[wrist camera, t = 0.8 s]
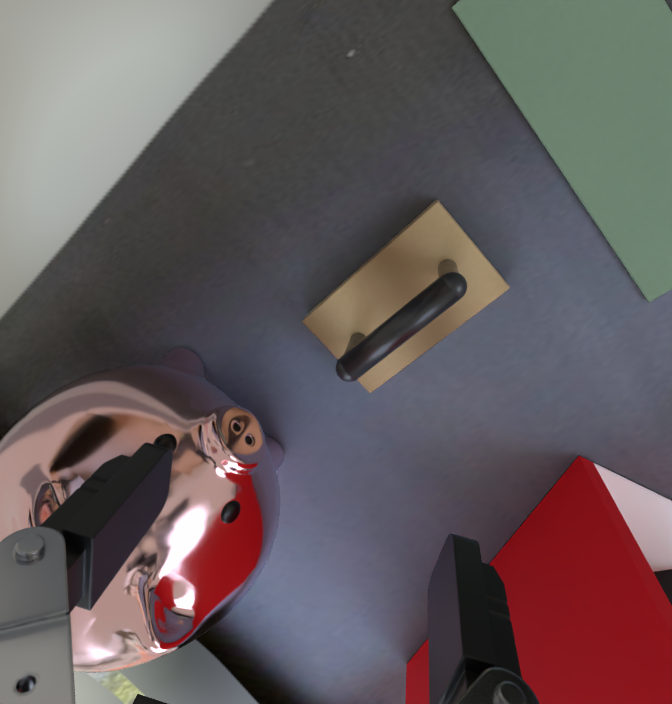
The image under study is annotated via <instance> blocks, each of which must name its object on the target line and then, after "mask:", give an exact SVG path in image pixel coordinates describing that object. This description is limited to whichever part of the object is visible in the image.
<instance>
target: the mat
mask: <svg viewBox="0 0 672 704" xmlns="http://www.w3.org/2000/svg"><path fill="white" fill-rule="evenodd" d="M452 9H453V11H454V12H455V14H456V15H457V17H458V18H459V20H460V21H461V23H462V24H463V26H464V27H465V29H466V30H467V32H468V33H469V35H470V36H471V38H472V39H473V41H474V42H475V44H476V45H477V47H478V48H479V50H480V51H481V52H482V54H483V55H484V57H485V58H486V60H487V61H488V63H489V64H490V66H491V67H492V69H493V70H494V72H495V73H496V75H497V76H498V78H499V79H500V81H501V82H502V84H503V85H504V87H505V88H506V90H507V91H508V93H509V94H510V96H511V97H512V99H513V100H514V102H515V103H516V105H517V106H518V108H519V109H520V111H521V112H522V114H523V115H524V117H525V118H526V120H527V121H528V123H529V124H530V126H531V127H532V129H533V130H534V132H535V133H536V135H537V136H538V138H539V139H540V141H541V142H542V144H543V145H544V147H545V148H546V150H547V151H548V153H549V154H550V156H551V157H552V159H553V160H554V162H555V163H556V165H557V166H558V168H559V169H560V171H561V172H562V174H563V175H564V177H565V178H566V180H567V181H568V183H569V184H570V186H571V187H572V189H573V190H574V192H575V193H576V195H577V196H578V198H579V199H580V201H581V202H582V204H583V205H584V207H585V208H586V210H587V211H588V213H589V214H590V216H591V217H592V219H593V220H594V222H595V223H596V225H597V226H598V228H599V229H600V231H601V232H602V234H603V235H604V237H605V238H606V240H607V241H608V243H609V244H610V246H611V247H612V249H613V250H614V252H615V253H616V255H617V256H618V257H619V259H620V260H621V262H622V263H623V265H624V266H625V268H626V269H627V271H628V272H629V274H630V275H631V277H632V278H633V280H634V281H635V283H636V284H637V286H638V287H639V289H640V290H641V292H642V293H643V295H644V296H645V298H646V299H647V301H648V302H651V301H653V300H655V299H656V298H658V297H660V296H661V295H663V294H665V293H666V292H668V291H670V290H671V289H672V12H671V10H670V9H669V7H668V5H667V3H666V2H665V0H459V1H458V2H457V3H456V4H455V5H454V6H453V7H452Z"/></svg>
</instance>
